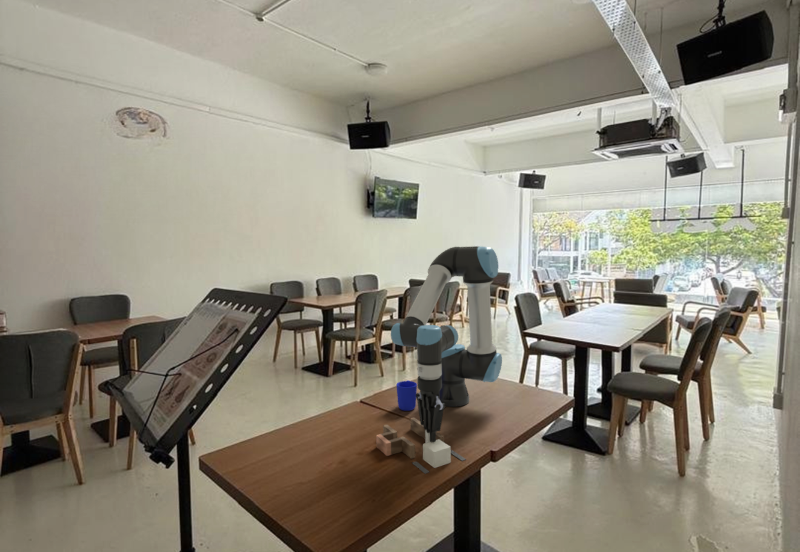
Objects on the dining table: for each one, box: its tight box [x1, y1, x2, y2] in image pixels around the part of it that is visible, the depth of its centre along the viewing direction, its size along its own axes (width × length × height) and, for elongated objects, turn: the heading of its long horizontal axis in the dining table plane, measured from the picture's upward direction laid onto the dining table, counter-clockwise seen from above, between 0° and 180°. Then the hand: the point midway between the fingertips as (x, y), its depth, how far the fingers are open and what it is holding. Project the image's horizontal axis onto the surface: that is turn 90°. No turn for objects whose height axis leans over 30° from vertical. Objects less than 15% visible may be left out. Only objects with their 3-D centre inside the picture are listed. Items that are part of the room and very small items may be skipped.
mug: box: [395, 379, 418, 412], centre depth 174 cm, size 8×12×10 cm
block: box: [422, 439, 452, 469], centre depth 130 cm, size 6×6×5 cm
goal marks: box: [411, 449, 467, 474], centre depth 130 cm, size 7×15×1 cm, turn 120°
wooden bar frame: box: [375, 417, 445, 459], centre depth 142 cm, size 18×18×4 cm
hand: (430, 450), depth 134 cm, fingers closed
